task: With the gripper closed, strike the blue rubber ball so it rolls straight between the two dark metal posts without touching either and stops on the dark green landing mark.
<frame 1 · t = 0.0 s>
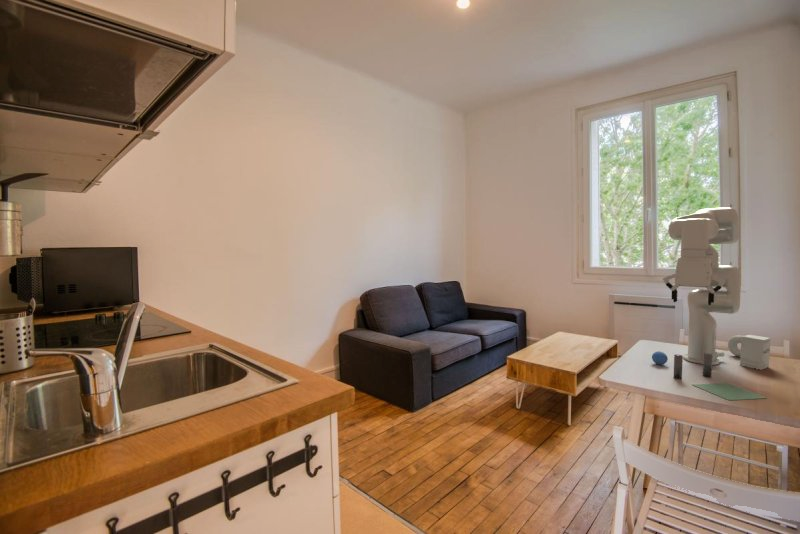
hand: (692, 303, 133), 31 cm above the table, tool pointing down, fingers open, 9 cm apart
post 1: (677, 378, 147), on the table
post 2: (706, 376, 148), on the table
donut: (740, 357, 173), on the table
landing mark: (727, 391, 134), on the table
ball: (659, 358, 163), on the table
supplement box: (754, 367, 160), on the table
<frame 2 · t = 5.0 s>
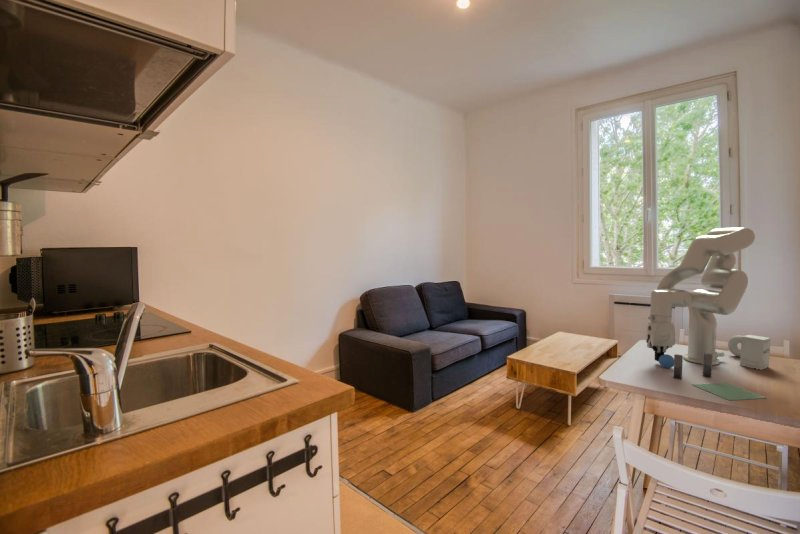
hand: (659, 360, 164), 2 cm above the table, tool pointing down, fingers closed
ball: (666, 361, 159), on the table
everything else where it was.
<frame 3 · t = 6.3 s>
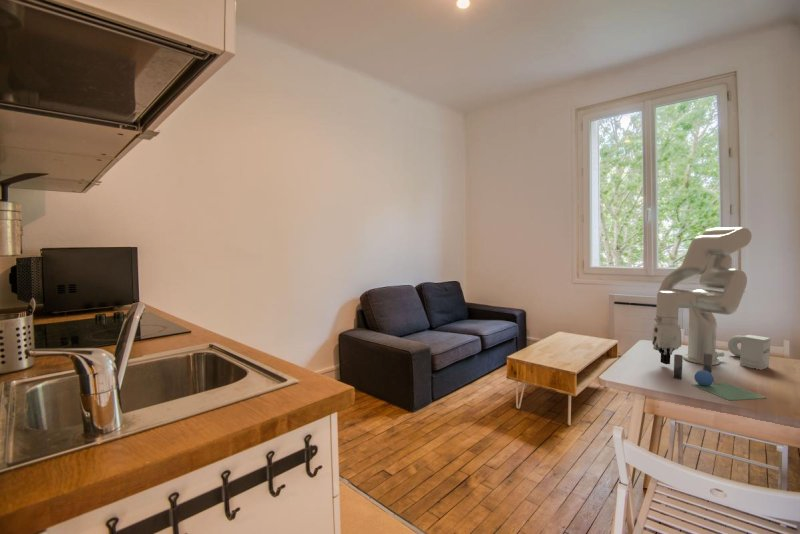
hand: (665, 363, 160), 2 cm above the table, tool pointing down, fingers closed
ball: (703, 378, 139), on the table
everything else where it was.
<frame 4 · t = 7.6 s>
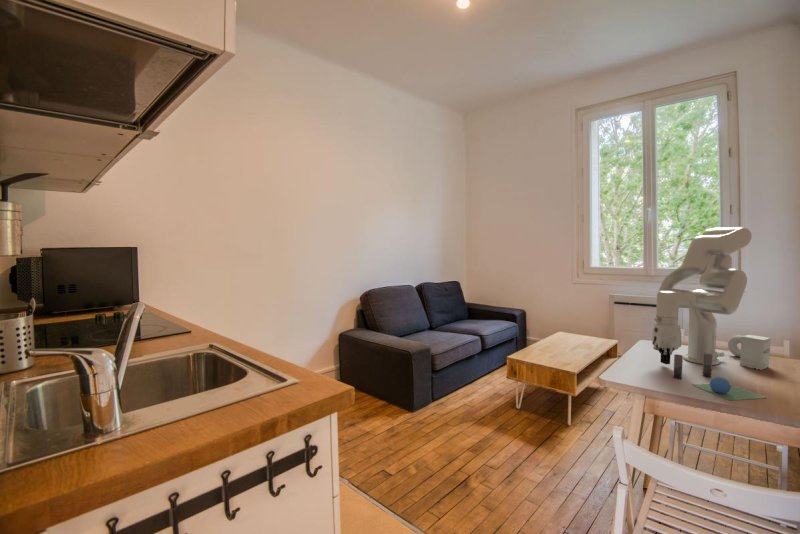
hand: (665, 363, 160), 2 cm above the table, tool pointing down, fingers closed
ball: (720, 385, 132), on the table
everything else where it was.
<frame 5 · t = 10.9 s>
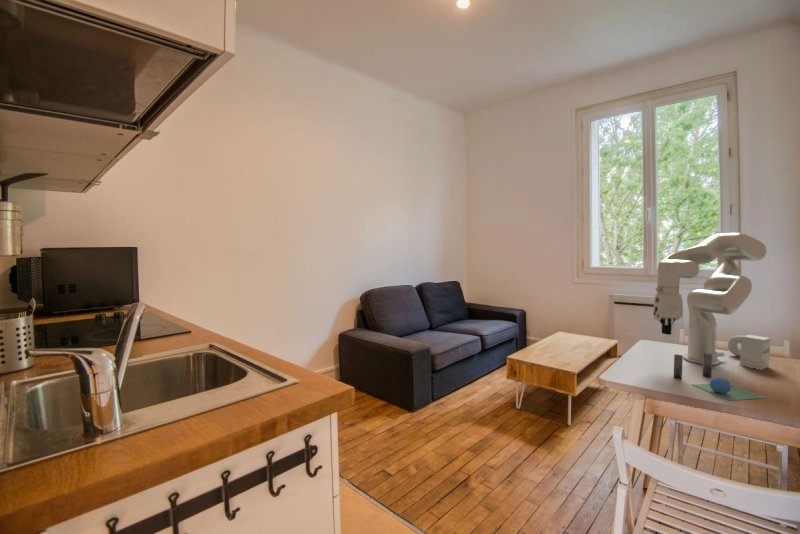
hand: (666, 333, 160), 14 cm above the table, tool pointing down, fingers closed
nothing on the table moved.
at the end: ball 4.3 cm from the landing mark (horizontally); ball never touched post 2; ball never touched post 1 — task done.
